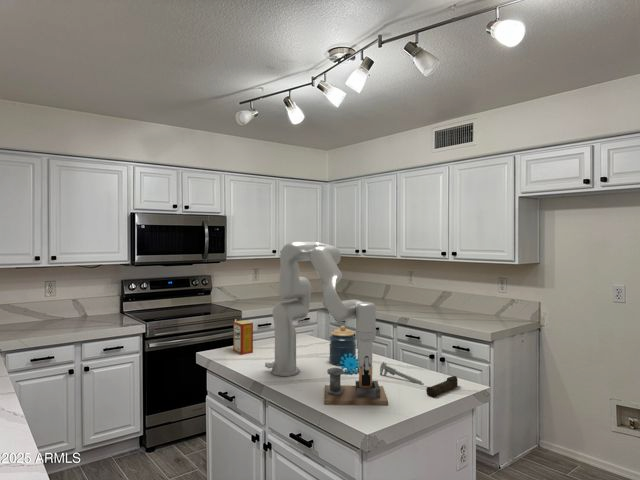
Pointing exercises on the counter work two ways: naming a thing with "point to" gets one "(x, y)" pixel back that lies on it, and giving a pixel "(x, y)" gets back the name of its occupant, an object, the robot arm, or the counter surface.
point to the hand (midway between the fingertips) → (365, 382)
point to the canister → (341, 345)
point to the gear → (350, 363)
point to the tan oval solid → (361, 378)
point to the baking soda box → (243, 337)
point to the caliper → (397, 373)
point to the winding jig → (352, 392)
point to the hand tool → (442, 386)
